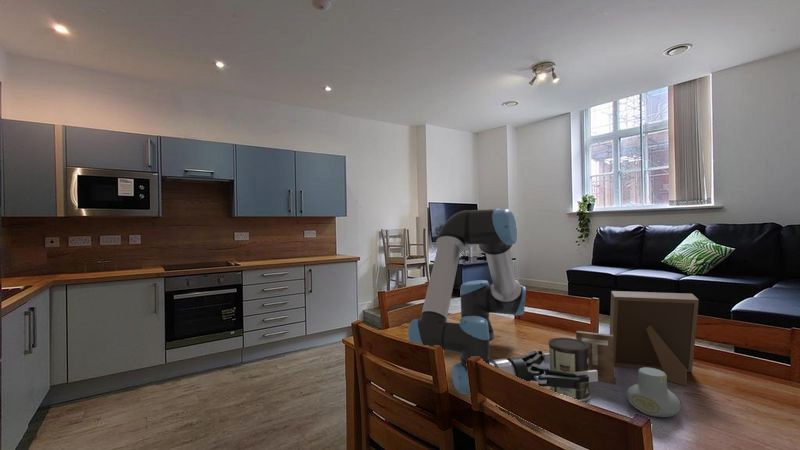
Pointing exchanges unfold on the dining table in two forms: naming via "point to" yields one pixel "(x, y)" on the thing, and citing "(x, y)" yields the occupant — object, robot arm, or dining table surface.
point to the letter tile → (600, 354)
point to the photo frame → (654, 331)
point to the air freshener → (653, 394)
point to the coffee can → (570, 364)
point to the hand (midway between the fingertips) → (579, 365)
